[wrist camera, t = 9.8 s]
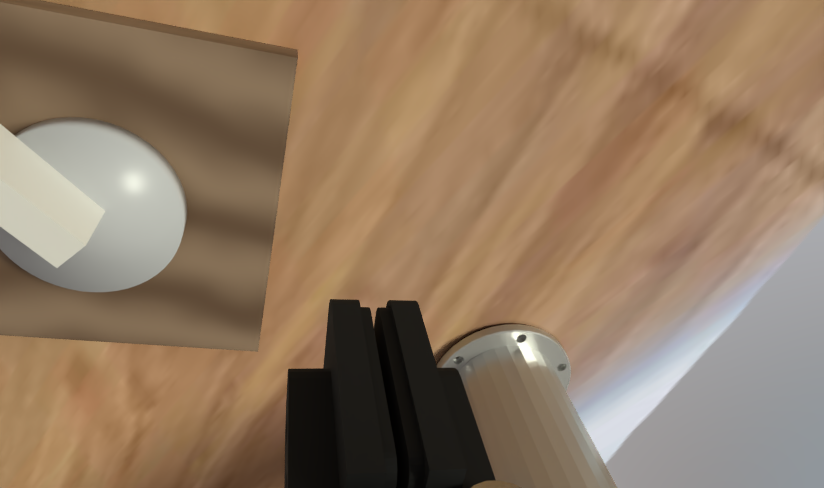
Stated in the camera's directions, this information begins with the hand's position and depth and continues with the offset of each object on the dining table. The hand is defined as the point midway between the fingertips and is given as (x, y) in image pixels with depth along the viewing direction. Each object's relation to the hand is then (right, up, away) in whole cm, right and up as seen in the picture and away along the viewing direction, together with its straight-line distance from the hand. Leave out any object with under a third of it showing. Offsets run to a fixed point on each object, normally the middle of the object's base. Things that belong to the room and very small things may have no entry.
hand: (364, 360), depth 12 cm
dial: (-21, +7, +24) cm, 32 cm away
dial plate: (-19, +6, +27) cm, 34 cm away
